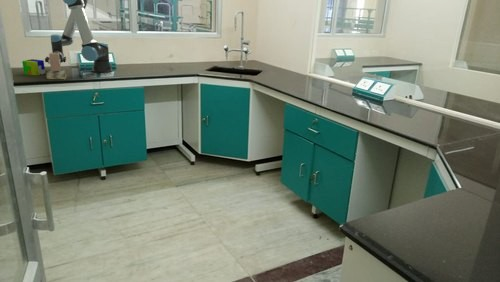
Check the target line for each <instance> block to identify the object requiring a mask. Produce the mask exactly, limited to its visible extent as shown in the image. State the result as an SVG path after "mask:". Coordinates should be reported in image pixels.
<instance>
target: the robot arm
mask: <svg viewBox="0 0 500 282" xmlns="http://www.w3.org/2000/svg"><path fill="white" fill-rule="evenodd" d="M62 1H63V2H64V3H65V4H66V5H67V7H68V9H69V10H70V12H69V13H70V14H69V15H68V18H67V21H66V24H65V27H64V29H63V32H62V35H61V34H51V35H50V44H51V53H59V57H60V59H59V64H60V65H61V63H66V61H67V56H64V55H65V53H64V52H63V51H64V50H63V47H66V46H70V45H72V44H73V43H74V39H73V38H74V34H75V32H76V30H78V32H79V35H80V39H81V42H82V43H81V47H82V48H81V56H82V58H83V59H84V60H85V61H89V62H93V64H92V72H93V73H110V72H113V68H112V65H111V62H110V55H109V54H110V52H109V44H108V43H107V42H97V40H95V38H94V35H93V33H92V30H91V25H90V23H89V21H88V17H87V15H86V12H85V9H86V7H87V5H88V1H89V0H62ZM44 63H48V65H50V58H49V56H46V57H45V58H44Z"/></svg>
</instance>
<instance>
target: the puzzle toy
mask: <svg viewBox="0 0 500 282" xmlns="http://www.w3.org/2000/svg"><path fill="white" fill-rule="evenodd" d="M21 62H22V69H23V74H24V75H28V76H35V75H36V76H39V75H40V74H41V75H44V73H45V74H46V69H45V67H46V66H45V59H36V58H35V59H27V60H26V59H25V60H22V61H21ZM41 75H40V76H41Z"/></svg>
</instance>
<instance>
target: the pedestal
mask: <svg viewBox="0 0 500 282" xmlns="http://www.w3.org/2000/svg"><path fill="white" fill-rule="evenodd" d="M45 74H46V80H47V79H64V80H67V70H61V71H51V70H47V72H46V73H45Z"/></svg>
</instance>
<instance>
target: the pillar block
mask: <svg viewBox="0 0 500 282" xmlns="http://www.w3.org/2000/svg"><path fill="white" fill-rule="evenodd" d="M48 57H49V58H50V64H49V65H50V71H62V70H61V69H62V68H61V67H62V66H61V64H59V59H60V57H59V53H52V52H50V53H49V54H48Z"/></svg>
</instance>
